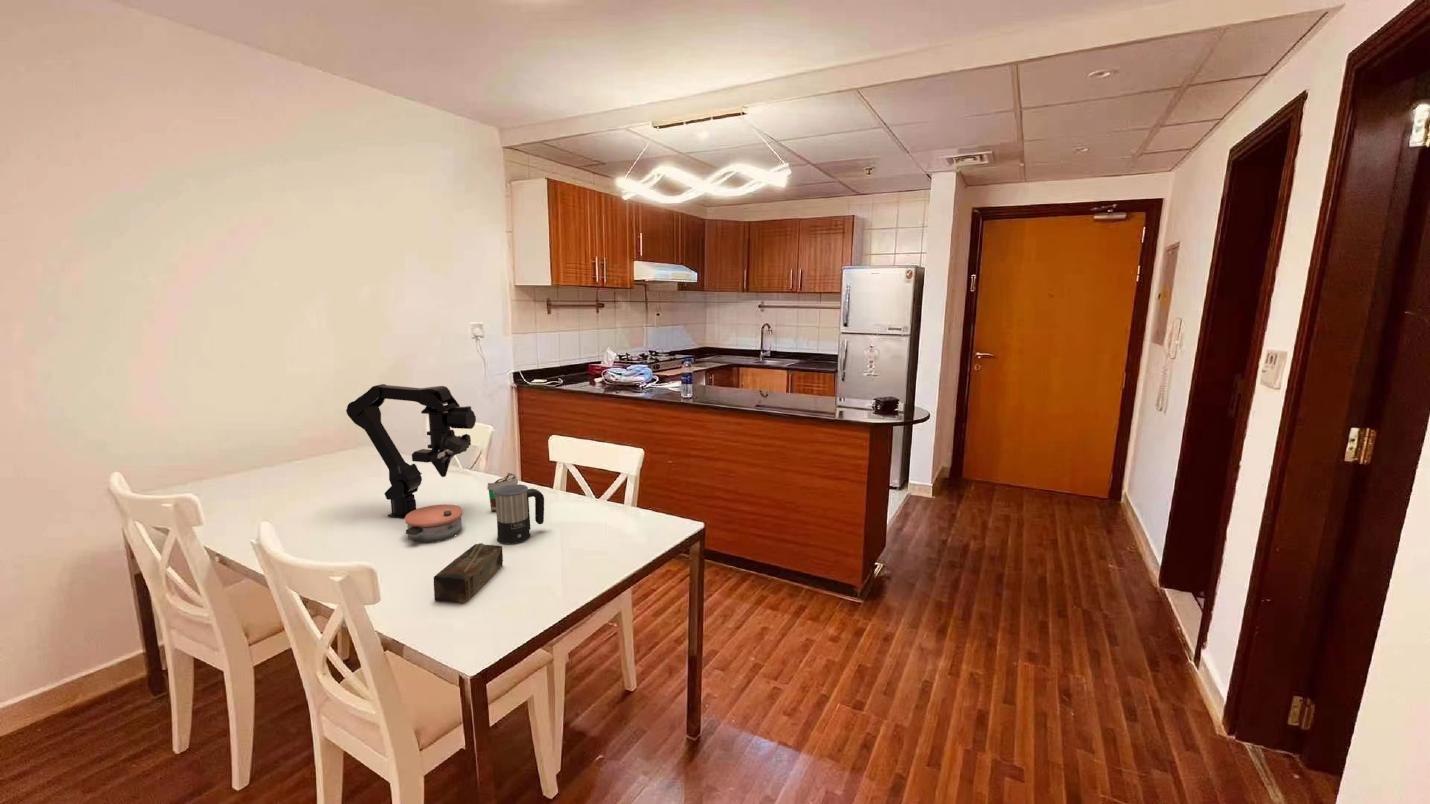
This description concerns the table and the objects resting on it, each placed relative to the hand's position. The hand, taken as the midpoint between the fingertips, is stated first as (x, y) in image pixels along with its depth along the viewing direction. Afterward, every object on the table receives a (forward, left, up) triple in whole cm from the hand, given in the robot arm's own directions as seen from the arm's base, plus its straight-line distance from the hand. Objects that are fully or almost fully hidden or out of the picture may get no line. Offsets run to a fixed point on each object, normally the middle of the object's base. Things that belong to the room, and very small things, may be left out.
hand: (443, 476), depth 176 cm
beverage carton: (+35, -35, -14) cm, 51 cm away
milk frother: (+27, -6, -13) cm, 31 cm away
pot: (+6, -12, -13) cm, 19 cm away
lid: (+6, -12, -8) cm, 16 cm away
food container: (+14, +12, -13) cm, 23 cm away
